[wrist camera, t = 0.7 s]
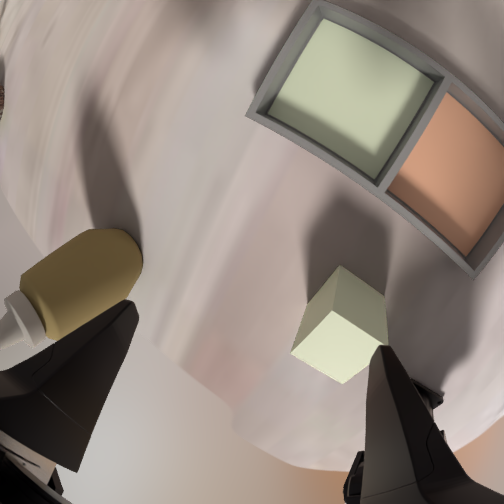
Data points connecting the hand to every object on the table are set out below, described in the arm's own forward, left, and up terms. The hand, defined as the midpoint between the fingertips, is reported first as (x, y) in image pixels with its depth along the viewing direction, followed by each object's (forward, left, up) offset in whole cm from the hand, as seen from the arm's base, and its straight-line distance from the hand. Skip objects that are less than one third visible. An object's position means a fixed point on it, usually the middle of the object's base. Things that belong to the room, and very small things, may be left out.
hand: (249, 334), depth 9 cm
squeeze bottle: (+14, +13, -12) cm, 23 cm away
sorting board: (-2, -10, -12) cm, 16 cm away
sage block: (-6, +3, -12) cm, 14 cm away
